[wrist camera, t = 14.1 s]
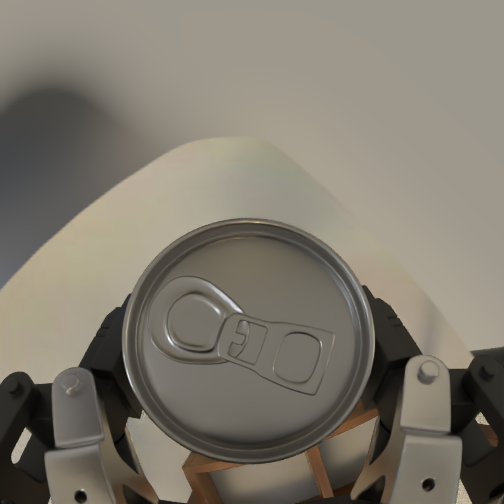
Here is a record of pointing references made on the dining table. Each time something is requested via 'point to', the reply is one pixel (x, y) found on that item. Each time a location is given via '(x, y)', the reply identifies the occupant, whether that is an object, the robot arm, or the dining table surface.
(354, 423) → the frame
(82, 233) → the dining table surface
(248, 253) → the can
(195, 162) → the dining table surface
